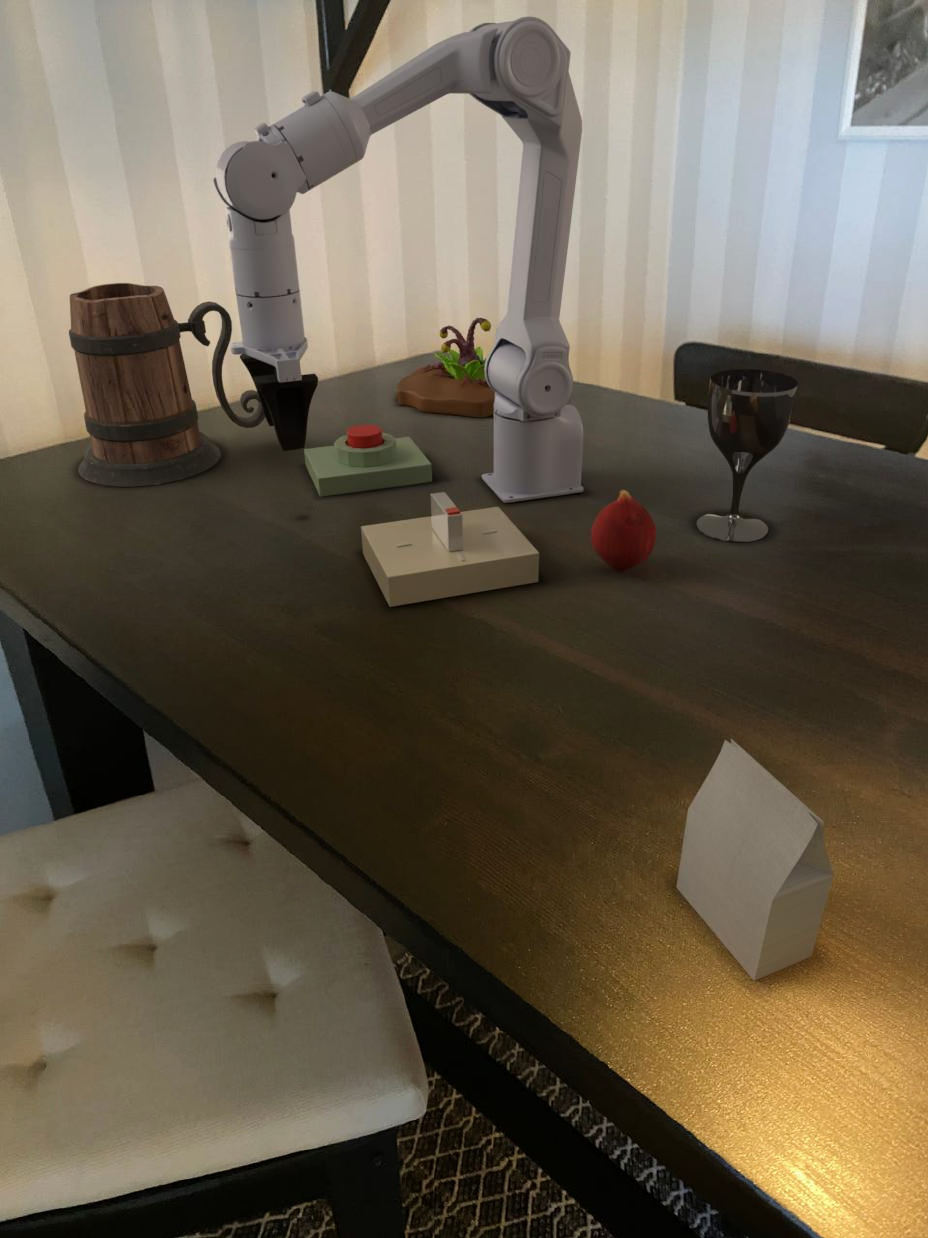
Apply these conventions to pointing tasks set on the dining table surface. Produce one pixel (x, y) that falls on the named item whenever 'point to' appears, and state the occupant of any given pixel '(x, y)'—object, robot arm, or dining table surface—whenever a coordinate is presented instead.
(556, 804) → the dining table surface
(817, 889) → the tea bag
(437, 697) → the dining table surface
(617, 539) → the onion
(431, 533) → the plate
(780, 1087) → the dining table surface
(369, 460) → the button block
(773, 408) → the wine glass
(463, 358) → the plant
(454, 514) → the switch box
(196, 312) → the tankard
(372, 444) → the button
